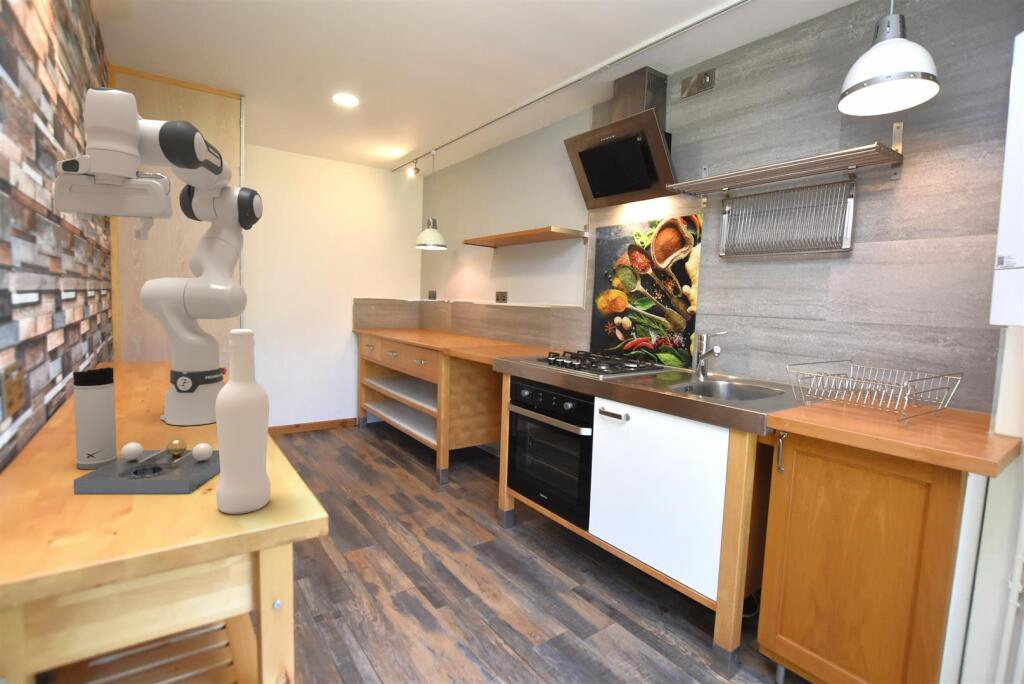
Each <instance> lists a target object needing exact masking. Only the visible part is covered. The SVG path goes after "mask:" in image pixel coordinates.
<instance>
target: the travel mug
mask: <svg viewBox="0 0 1024 684" xmlns="http://www.w3.org/2000/svg"><path fill="white" fill-rule="evenodd" d="M72 374H73V377H72V378H73V405H74V410H73V411H74V428H75V429H74V431H75V433H74V434H75V453H76V456H75V457H76V467H77V469H79V470H88V471H89V470H96V469H98V468H100V467H102V466H104V465H107V464H109V463H111V462H113V461H115V460H117V459H118V454H117V453H118V452H117V450H118V449H117V448H118V447H117V426H116V425H117V423H116V397H115V396H116V395H115V394H116V393H115V381H114V367H109V366H107V367H102V368H101V367H99V368H95V369H87V370H86V371H74V372H73V373H72Z"/></svg>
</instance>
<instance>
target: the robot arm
mask: <svg viewBox="0 0 1024 684" xmlns="http://www.w3.org/2000/svg"><path fill="white" fill-rule="evenodd" d="M136 100H137V99H136V97H135V95H134V94H133V93H131V92H130V91H127V90H124V89H120V88H114V87H106V86H105V87H104V86H92V87H91V88H89V89H87V92H86V95H85V100H84V112H83V118H84V119H83V121H84V131H85V133H86V134H85V135H86V137H87V142H86V145H85V154H82V155H80V156H77V157H72V158H67V159H64V160H59V161H57V162H56V170H57V172H58V173H61V174H59V175H58V176H57V177H56V178H55V181H54V189H53V191H54V192H53V199H54V200H53V201H54V207H55V208H56V209H57V210H58V211H59V212H61V213H64V214H69V215H76V219H77V221H78V223H79V224H80V225H81V226H82V228H83V235H84V237H86V238H98V236H99V235H98V228H93V225H91V223H90V221H92V216H101V217H102V216H103V217H107V216H108V217H121V218H139V219H140V222H141V223H142V225H141V227H140V229H139V230H137V229H136V230H135V232H134V233H135V236H134V237H135V239H136V240H141V241H148V239H149V231H150V230H151V228H152V227H153V226H154V220H155V219H157V220H169V219H171V217H172V216H173V204H172V199H171V194H170V193H171V187H172V186H171V180H170V179H169V178H168V177H167V176H166V175H163V174H162V173H159V172H154V173H153V172H152V173H151V172H147V171H142V166H148V167H149V166H150V167H165V168H166V167H167V168H170V169H171V172H172V173H173V175H174V176H175V177H176V178H177V179H178V180H180V181H181V182H183V183H184V184H185V185H184V186H183V187H182V189H181V191H180V193H179V197H178V198H179V200H178V203H179V207H180V210H181V212H182V213H183V214H184V216H185V217H186V218H187V219H189V220H193V221H196V222H209V223H211V224H210V227H209V228H208V229H207V230H206V231H205V233H203V235H202V236H201V238H200V239H199V241H198V243H197V245H196V246H195V248H194V250H193V252H192V253H191V255H190V257H189V259H188V267H189V270H190V271H191V273H192V274H193V275H194V276H195V277H176V276H175V277H174V276H173V277H172V276H167V277H160V278H154V279H152V278H151V279H149V280H147V281H145V283H143V285H142V287H141V288H140V291H139V302H140V304H141V307H142V308H143V310H144V311H145V312H146V313H147V314H149V315H151V316H152V317H153V318H154V319H155V320H157V322H159V324H160V325H161V326H162V328H163V329H164V332H165V333H166V335H167V338H168V341H169V348H170V356H171V370H169V384H170V386H169V387H168V388H167V390H166V392H165V402H164V414H161V415H160V417H159V418H160V420H161V421H165V423H166V424H169V425H171V426H173V425H174V426H197V425H207V424H212V423H214V424H215V423H216V412H215V404H216V399H217V396H218V394H219V392H220V391H221V389H222V388H223V387H224V386H225V385H226V384H227V382H225V381H224V376H223V375H226V374H227V367H224V366H223V367H220V343H219V341H218V339H217V338H216V337H215V336H213V334H211V333H210V332H207V331H204V330H203V328H202V327H201V325H199V322H198V320H202V319H203V320H223V319H224V320H225V319H226V320H227V319H230V318H236V317H237V318H238V317H240V315H241V314H242V313H243V312H244V311H245V309H246V306H247V302H248V300H247V299H248V298H247V293H246V291H245V289H244V288H243V287H242V286H241V284H240V283H239V282H237V281H235V280H234V279H233V274H234V272H235V271H234V270H235V268H236V266H237V264H238V261H239V259H240V257H241V254H242V251H243V246H244V234H243V230H244V231H249V230H251V229H252V228H253V226H254V225H256V224H257V223H258V222H259V220H260V219H261V217H262V215H263V209H264V208H263V200H262V197H261V195H260V194H259V193H258V191H256V189H253V188H249V187H245V186H242V187H239V186H234V185H233V186H232V185H229V184H230V183H231V180H232V176H233V175H232V169H231V167H230V165H229V164H228V163H227V161H226V160H224V159H223V157H222V154H221V152H220V151H219V150H218V148H216V147H215V146H214V145H212V144H211V143H210V142H209V141H208V140H207V139H205V137H204V136H203V134H202V133H201V130H199V129H198V128H197V127H196V126H195V125H194V124H192V123H191V122H189V121H187V120H158V119H146V118H145V119H144V118H143V117H142V116H141V115H140V114H139V112H138V105H137V101H136Z"/></svg>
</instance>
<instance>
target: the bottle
mask: <svg viewBox="0 0 1024 684" xmlns="http://www.w3.org/2000/svg"><path fill="white" fill-rule="evenodd" d="M229 336H230V337H229V341H228V346H229V379H228V381H227V382H226V385H225V386H224V387H223V388H222V389H221V391H220V392H219V394H218V396H217V399H216V404H215V412H216V422H215V423H216V431H217V432H216V433H217V445H218V450H219V458H220V472H219V474H220V475H219V480H218V483H217V485H216V488H215V499H216V500H215V501H216V506H217V508H218V509H219V511H220V512H221V513H224V514H228V515H240V514H241V515H242V514H246V513H253V512H255V511H258V510H260V509H261V508H263V507H266V505H267V504H268V502H269V501H270V497H271V490H272V489H271V480H270V478H269V475H268V473H267V451H268V450H267V449H268V434H269V418H270V417H269V416H270V400H269V396H268V393H267V391H266V389H265V388H264V387H263V386H262V384H261V383H260V382H259V381H257V379H256V372H255V371H256V368H255V367H256V364H255V345H256V341H255V339H254V336H255V333H254V331H253V330H252V329H251V328H250V329H249V328H236V329H235V328H234V329H232V330H231V329H230V331H229Z"/></svg>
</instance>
